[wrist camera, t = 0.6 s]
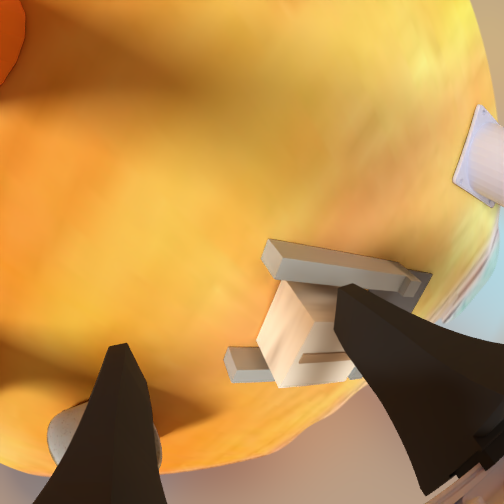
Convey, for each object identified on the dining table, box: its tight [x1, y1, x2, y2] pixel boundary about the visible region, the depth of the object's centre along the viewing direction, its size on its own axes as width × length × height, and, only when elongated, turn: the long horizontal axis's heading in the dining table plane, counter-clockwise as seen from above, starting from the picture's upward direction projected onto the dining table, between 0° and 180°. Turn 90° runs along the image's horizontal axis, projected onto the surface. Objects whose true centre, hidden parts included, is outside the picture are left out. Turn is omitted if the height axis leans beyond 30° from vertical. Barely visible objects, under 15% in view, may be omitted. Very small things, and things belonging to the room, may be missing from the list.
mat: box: [369, 269, 433, 313], centre depth 29 cm, size 8×10×1 cm
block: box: [256, 280, 355, 388], centre depth 23 cm, size 6×6×5 cm
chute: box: [224, 239, 421, 383], centre depth 24 cm, size 13×11×3 cm
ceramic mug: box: [47, 402, 162, 470], centre depth 22 cm, size 11×8×8 cm
